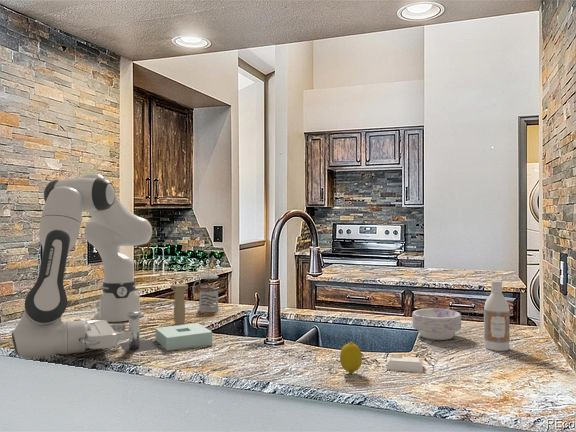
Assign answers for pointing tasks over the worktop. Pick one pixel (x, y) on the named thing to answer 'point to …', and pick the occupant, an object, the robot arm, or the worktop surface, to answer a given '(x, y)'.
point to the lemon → (351, 357)
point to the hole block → (183, 336)
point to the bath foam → (496, 319)
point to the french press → (208, 293)
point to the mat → (141, 346)
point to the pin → (134, 329)
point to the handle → (179, 303)
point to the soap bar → (404, 364)
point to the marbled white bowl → (436, 323)
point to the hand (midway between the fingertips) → (128, 330)
